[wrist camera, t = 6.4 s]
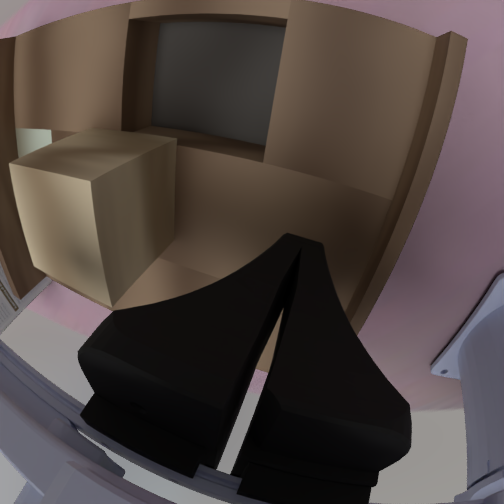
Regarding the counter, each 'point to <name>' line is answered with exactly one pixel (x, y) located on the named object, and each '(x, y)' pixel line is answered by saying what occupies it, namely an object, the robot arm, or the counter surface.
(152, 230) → the maple block
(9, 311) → the syrup box
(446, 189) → the counter surface
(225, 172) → the trap board
